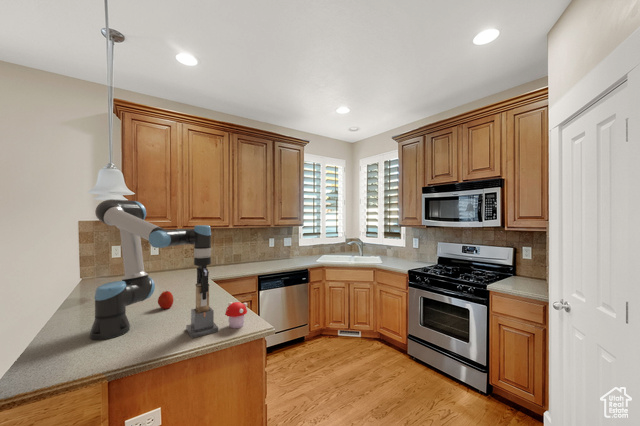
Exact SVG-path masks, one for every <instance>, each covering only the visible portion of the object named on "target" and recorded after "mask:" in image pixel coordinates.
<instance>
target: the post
mask: <svg viewBox="0 0 640 426" xmlns="http://www.w3.org/2000/svg"><path fill="white" fill-rule="evenodd" d="M200 292H201V283H198V284H197V283H195V308H196V313H200V312H205V311H209V306H210V283H208V292H207V306H202V307H201V293H200Z"/></svg>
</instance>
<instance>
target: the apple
mask: <svg viewBox="0 0 640 426" xmlns="http://www.w3.org/2000/svg"><path fill="white" fill-rule="evenodd" d="M157 304H158V306H159V308H161V309H164V310H168V309H171V308H172V306H173V304H174V295H173V294H172V292H171V291H168V290H166V291H162V293H160V295H159V296H158V299H157Z"/></svg>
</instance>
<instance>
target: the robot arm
mask: <svg viewBox="0 0 640 426" xmlns="http://www.w3.org/2000/svg"><path fill="white" fill-rule="evenodd" d="M146 209H147V208H146V207H145V206H144V204H142V203H141V202H140V201H137V200H128V199H127V200H125V199H124V200H121V199H107V200H103V201H101V202H100V203H98V204H97V206H96V207H95V216H96V219H98V220H99V221H100V222H101V223H103V224H105V225H108V226H110V227H112V226H115V228H117V229H118V230H119V235H120V241H121V243H120V244H121V252H122V261H123V269H124V276H123V277H122V278H121V280H115V281H109V282H107V283H104V284H101V285H99V286H98V287H96V289H95V293H94V321H93V324H92V326H91V329H90V331H89V338H90V340H96V341H101V340H109V339H112V338H116V337H119V336H122V335H124V334H127V333H128V332H129V331H130V329H131V324H130V322H129V319H128V317H127V316H128V315H126V313H127V312H126V307H128V306H130V305H133V304H137V303H140V302H143V301H145V300H147V299H149V298H150V297H152V296H153V294H154V292H155V289H156V288H155V287H156V283H155V281H154V280H153V278H152V277H149V273H147V272H146V271H145V266H144V255H143V247H142V239H144V240H146V241H148V242H149V245H150V246H151V247H153V248H157V249H158V248H160V249H163V248H169V247H175V246H182V245H193V247H194V248H193V253H194V254H193V256H194V258H193V264H194V266H195V267H196V284H198V283H201V292H200V293H201V307H202V306H207V292H208V284H209V275H210V274H209V271H208V268H207V266H209V265H211V264H212V257H211V252H212V246H211V245H212V230H211V226H210V225H204V224H202V225H195V226H194V227H193V229H192V228H191V229H189V228H178V229H165V228H162V227H160V226H159V225H156V224H154V223H151V222H149V221H147V220H145V219H146V217H147V210H146ZM141 238H142V239H141Z"/></svg>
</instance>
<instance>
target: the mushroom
mask: <svg viewBox="0 0 640 426" xmlns="http://www.w3.org/2000/svg"><path fill="white" fill-rule="evenodd" d="M227 305H228V306H227V307H226V310H225V313H224V315H226V316H227V317H228V322H229V328H231V329H239V328H242V327H243V326H244V323H245V315H246V314H247V313H248V309H247V308H248V303H247V302H243V303H242V302H241V301H237V302H232V301H230V302H228V304H227Z"/></svg>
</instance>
